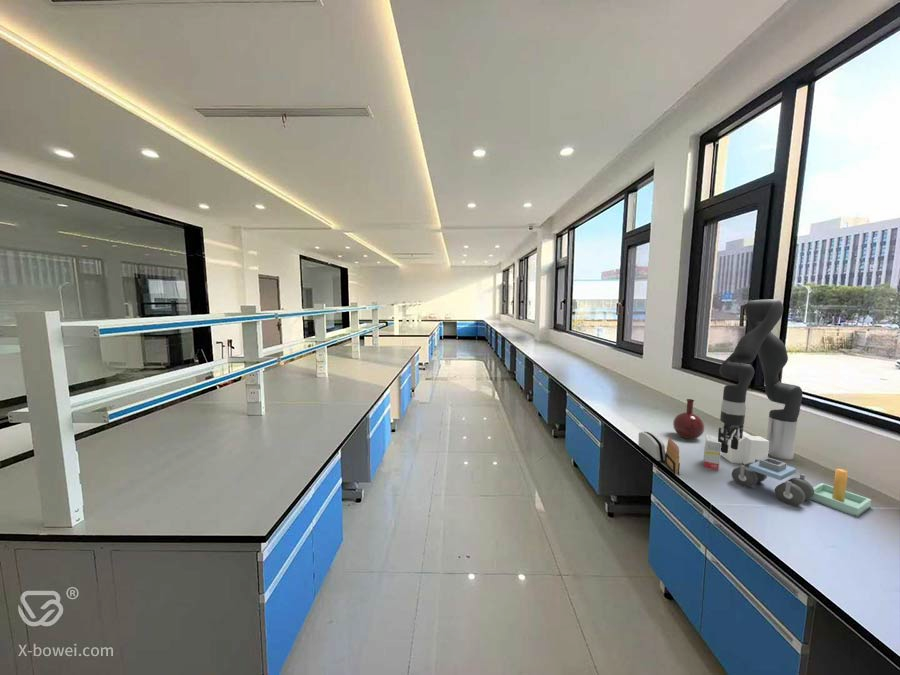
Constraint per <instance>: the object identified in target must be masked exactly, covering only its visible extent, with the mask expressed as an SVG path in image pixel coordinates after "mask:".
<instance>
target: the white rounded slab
mask: <svg viewBox="0 0 900 675" xmlns="http://www.w3.org/2000/svg"><path fill="white" fill-rule="evenodd" d="M638 446H639V448H641V449H642V450H644V451H645V452H646V453H647V454H648V455H650V456H651V457H652V458H653V459H655V460H656V461H657V462H658V461H659V462H661V461H662V460H663V461H664V462H665V454H666V448H665V443H664V442H663V440H661V439H660V438H659V436H658V435H656V434H655V433H653V432H650V431H639V432H638Z"/></svg>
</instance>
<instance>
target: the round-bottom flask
mask: <svg viewBox="0 0 900 675" xmlns="http://www.w3.org/2000/svg"><path fill="white" fill-rule="evenodd" d="M686 402H687V403H686V411H685V412H681V413H678V414H677V415H676V416H675V417H674V419H673V422H672V426H673V429H674V431H675V432H676V433H677V435H678V436H680V437H682V438H683V439H687V440H694V439H699V438H700V437H701V436H702V435H703V433H704V432H705V422H704V421H703V419H702V418H701V417H700V416H699V415H697V414H696V413H693V412H694V411H693V410H694V402H695V399H692V398H691V399H689V398H687V399H686Z"/></svg>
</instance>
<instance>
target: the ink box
mask: <svg viewBox="0 0 900 675" xmlns="http://www.w3.org/2000/svg"><path fill="white" fill-rule="evenodd" d="M703 454H704V455H703V465H704V468H707V469H709V470H715V471H719V469H720V468H719V467H720V457H721V456H720V454H721V442H718V436H715V435H710V434H706V435H705V442H704V452H703Z"/></svg>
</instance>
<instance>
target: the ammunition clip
mask: <svg viewBox="0 0 900 675" xmlns="http://www.w3.org/2000/svg"><path fill="white" fill-rule="evenodd" d="M664 464H665V465H666V466H667V468H668V469H669V470H670V471H671V473H672V474H673V475H676V476H680V467H681V466H680V465H681V464H680V446H678V444H676V443H675V442H674V440H672V438H671V437H669V438H668V440H667V445H666V450H665V461H664Z"/></svg>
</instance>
